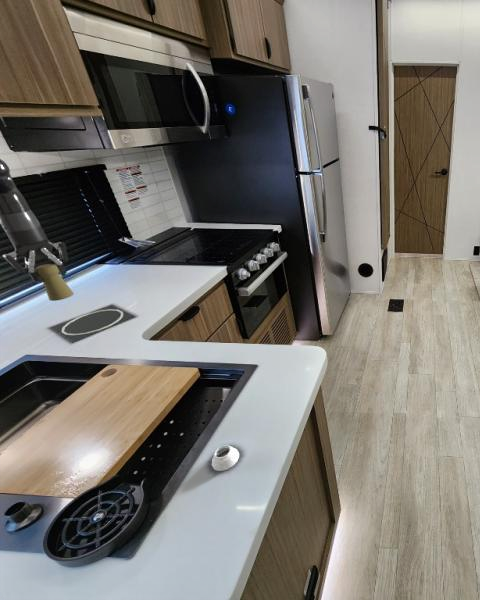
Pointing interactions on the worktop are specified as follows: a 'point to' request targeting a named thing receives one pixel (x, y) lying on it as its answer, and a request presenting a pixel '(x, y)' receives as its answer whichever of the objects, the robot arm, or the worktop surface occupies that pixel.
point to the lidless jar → (225, 458)
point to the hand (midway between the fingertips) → (51, 278)
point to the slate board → (91, 323)
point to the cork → (53, 282)
